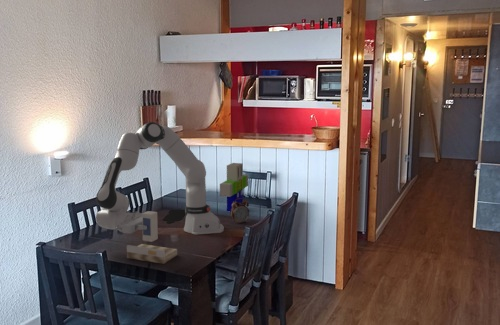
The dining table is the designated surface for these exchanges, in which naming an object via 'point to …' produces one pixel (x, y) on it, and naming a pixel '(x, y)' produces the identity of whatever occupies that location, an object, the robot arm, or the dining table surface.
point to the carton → (150, 226)
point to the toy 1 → (174, 216)
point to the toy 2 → (234, 184)
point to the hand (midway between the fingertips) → (151, 225)
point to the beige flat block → (151, 253)
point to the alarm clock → (239, 211)
